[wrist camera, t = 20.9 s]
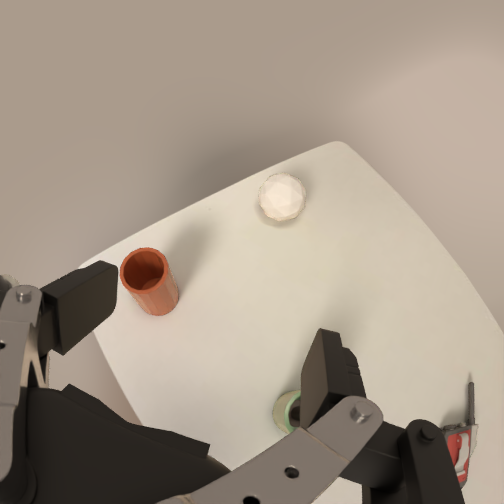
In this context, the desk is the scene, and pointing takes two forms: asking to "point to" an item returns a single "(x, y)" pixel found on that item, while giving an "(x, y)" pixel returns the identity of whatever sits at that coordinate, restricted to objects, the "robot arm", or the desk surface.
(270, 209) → the geometric ball
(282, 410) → the green cup
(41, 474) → the robot arm
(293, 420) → the muddler
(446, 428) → the walkie-talkie
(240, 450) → the desk surface
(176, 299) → the terracotta cup
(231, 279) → the desk surface
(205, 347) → the desk surface
